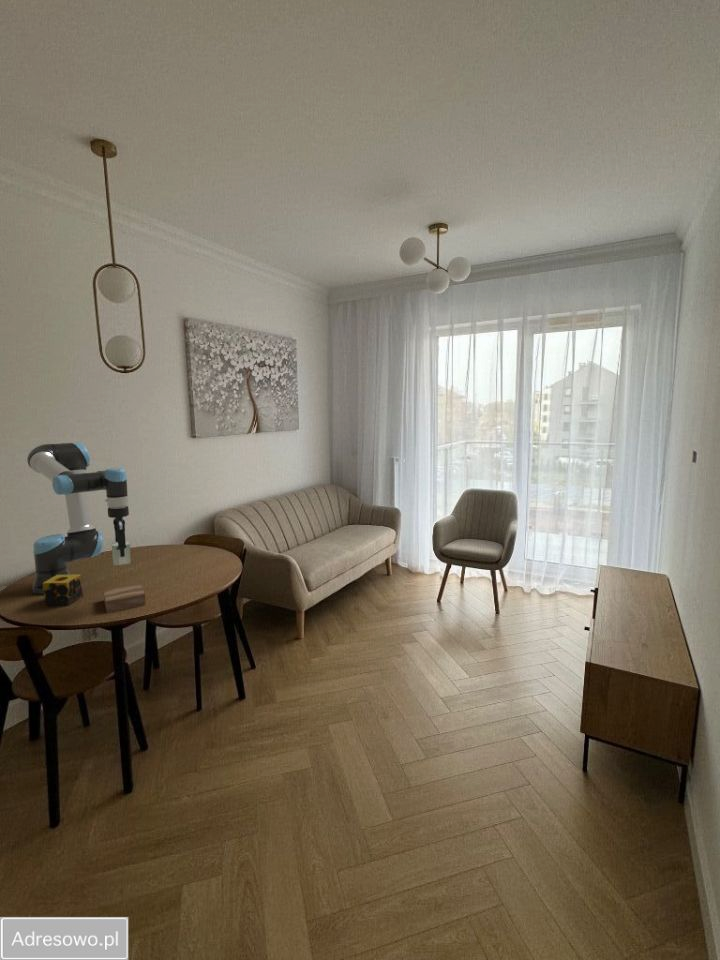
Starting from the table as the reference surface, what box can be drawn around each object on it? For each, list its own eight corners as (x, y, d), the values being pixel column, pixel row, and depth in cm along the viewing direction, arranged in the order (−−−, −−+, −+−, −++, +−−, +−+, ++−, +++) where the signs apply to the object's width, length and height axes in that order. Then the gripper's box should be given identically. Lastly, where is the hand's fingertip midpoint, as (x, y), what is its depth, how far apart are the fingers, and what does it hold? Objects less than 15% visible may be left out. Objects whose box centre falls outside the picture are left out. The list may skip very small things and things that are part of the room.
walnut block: (104, 601, 194) (103, 589, 193) (140, 594, 202) (139, 583, 201) (107, 613, 182) (106, 601, 182) (145, 605, 190) (144, 594, 189)
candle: (83, 596, 198) (81, 574, 197) (69, 606, 188) (67, 582, 187) (59, 596, 198) (57, 574, 196) (44, 606, 188) (42, 582, 186)
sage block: (112, 561, 190) (111, 542, 189) (129, 559, 193) (127, 540, 192) (114, 565, 185) (112, 546, 184) (130, 563, 188) (129, 544, 187)
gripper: (105, 503, 192) (109, 557, 195) (109, 511, 176) (113, 570, 179) (125, 501, 196) (129, 554, 199) (131, 509, 180) (135, 566, 183)
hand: (121, 561), depth 189 cm, fingers closed on sage block, 6 cm apart
